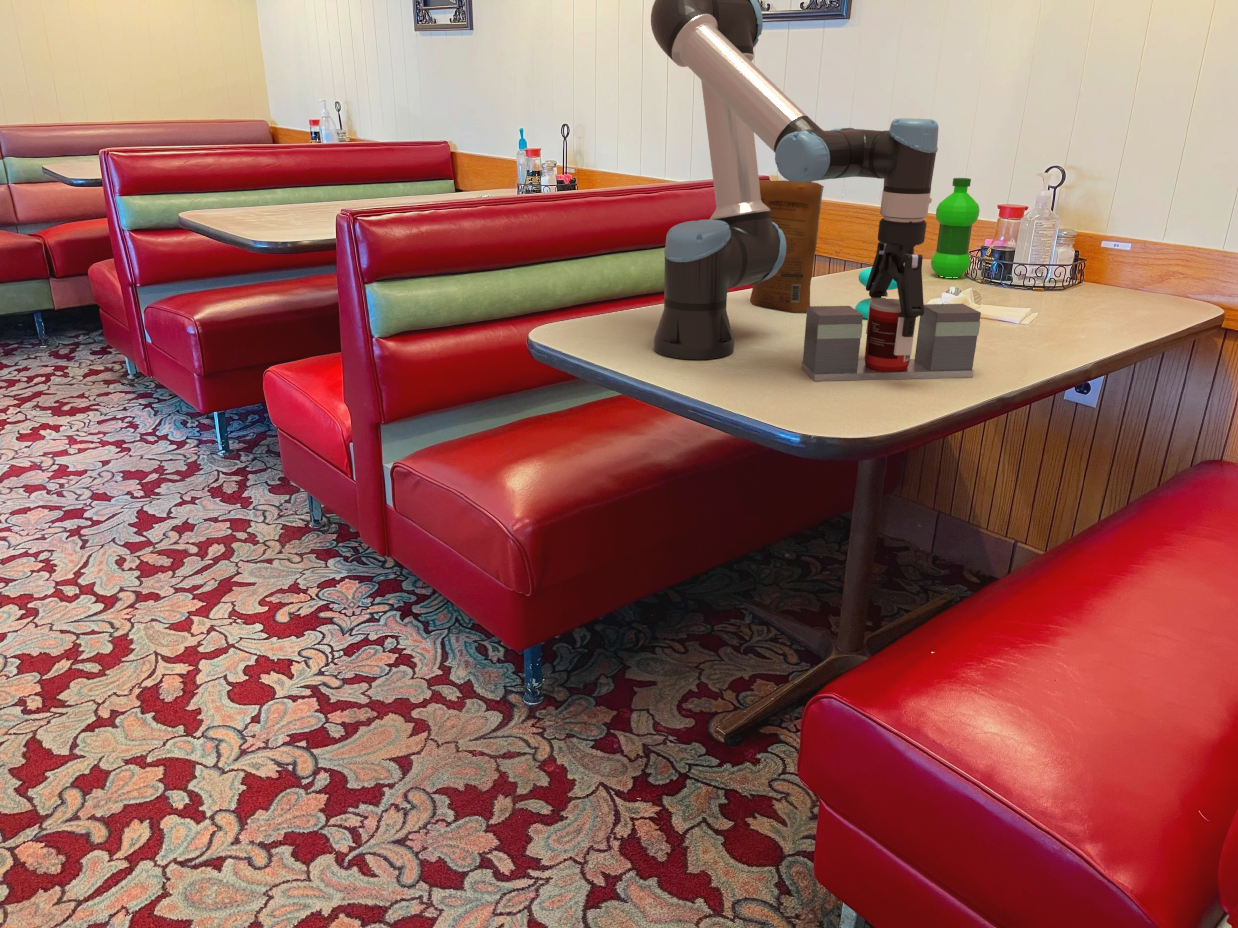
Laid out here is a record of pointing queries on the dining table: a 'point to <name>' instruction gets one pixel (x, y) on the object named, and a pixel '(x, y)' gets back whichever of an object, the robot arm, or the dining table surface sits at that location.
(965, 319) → the grey double block stand
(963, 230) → the plastic bottle
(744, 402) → the dining table surface
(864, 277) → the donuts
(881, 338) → the canned food
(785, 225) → the pancake mix bag
